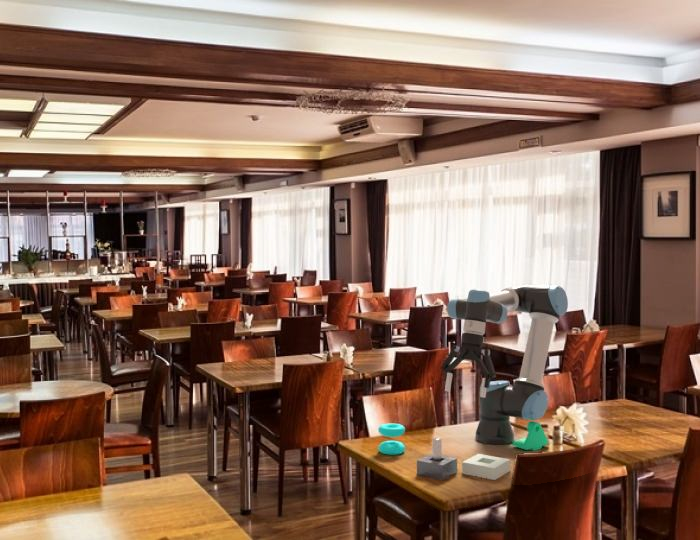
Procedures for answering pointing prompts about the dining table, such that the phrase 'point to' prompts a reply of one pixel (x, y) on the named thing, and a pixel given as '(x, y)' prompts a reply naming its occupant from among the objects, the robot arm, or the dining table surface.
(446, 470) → the mount block
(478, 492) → the dining table surface
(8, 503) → the dining table surface
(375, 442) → the dining table surface
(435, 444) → the steel pin
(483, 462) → the socket plate
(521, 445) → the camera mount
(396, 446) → the donuts
